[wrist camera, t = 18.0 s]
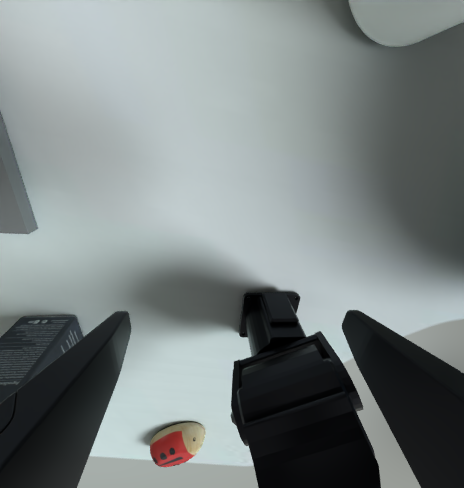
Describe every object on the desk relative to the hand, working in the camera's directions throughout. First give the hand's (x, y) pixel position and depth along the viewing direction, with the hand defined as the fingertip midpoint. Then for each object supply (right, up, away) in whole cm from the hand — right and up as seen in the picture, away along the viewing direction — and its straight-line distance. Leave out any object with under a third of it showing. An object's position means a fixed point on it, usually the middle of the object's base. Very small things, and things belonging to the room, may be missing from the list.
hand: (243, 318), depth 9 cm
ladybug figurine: (-9, -28, +28) cm, 41 cm away
